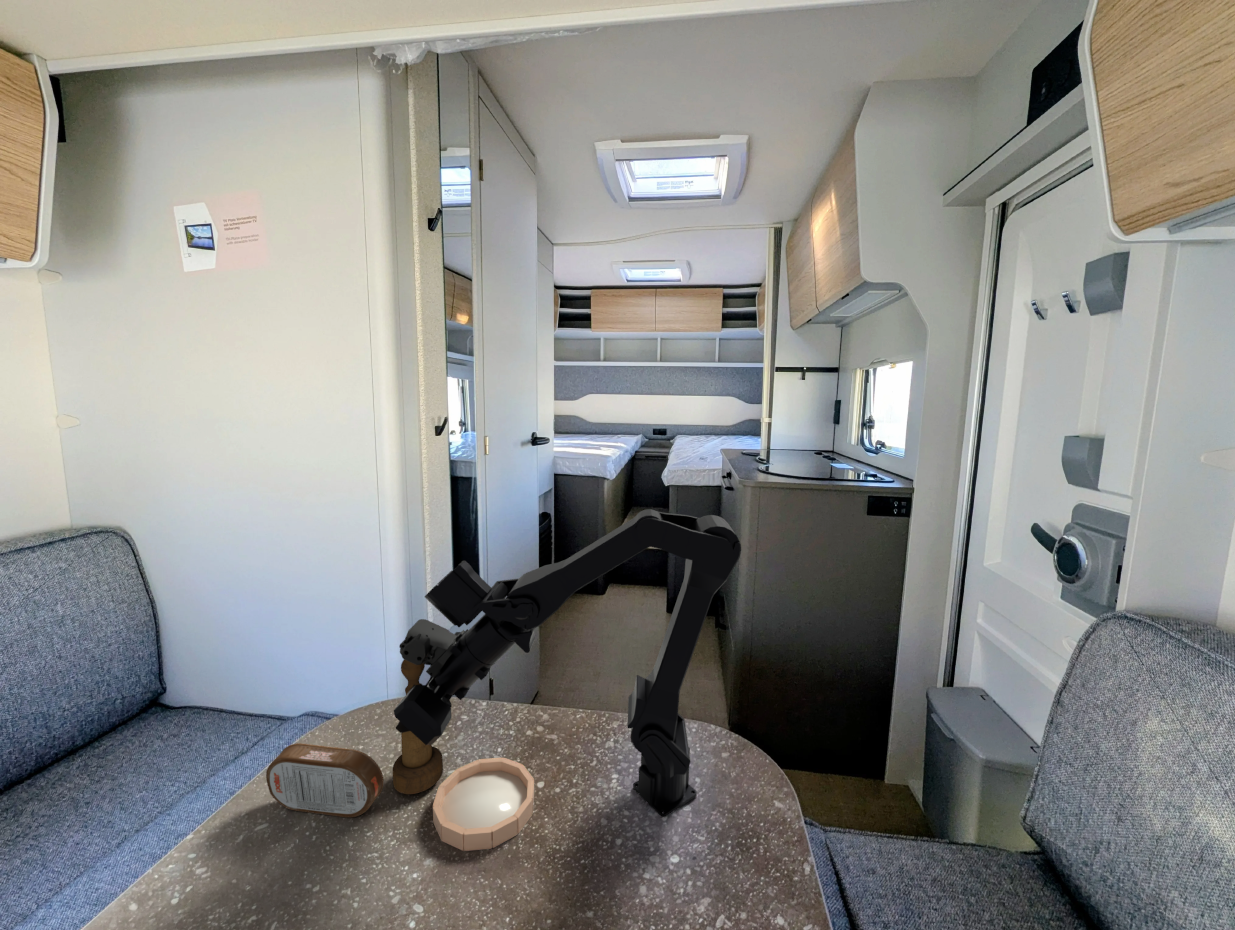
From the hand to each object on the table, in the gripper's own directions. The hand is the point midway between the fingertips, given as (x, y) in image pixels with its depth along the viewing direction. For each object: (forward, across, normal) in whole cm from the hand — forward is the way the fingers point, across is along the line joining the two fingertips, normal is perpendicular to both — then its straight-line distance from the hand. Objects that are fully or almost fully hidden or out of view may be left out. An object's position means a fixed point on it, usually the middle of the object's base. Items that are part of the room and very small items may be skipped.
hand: (405, 719), depth 69 cm
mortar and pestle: (+5, 0, +7) cm, 9 cm away
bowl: (-2, +4, +15) cm, 16 cm away
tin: (+13, +5, +1) cm, 14 cm away
